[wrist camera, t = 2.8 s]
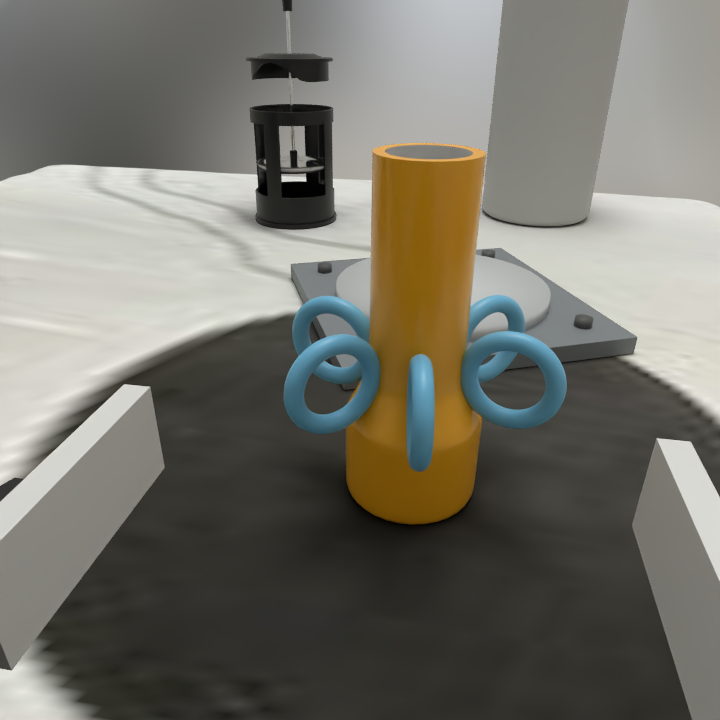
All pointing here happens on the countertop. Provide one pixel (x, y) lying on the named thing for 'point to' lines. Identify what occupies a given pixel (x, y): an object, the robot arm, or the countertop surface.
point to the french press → (293, 145)
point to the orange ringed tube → (418, 343)
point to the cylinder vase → (550, 108)
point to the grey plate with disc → (491, 277)
